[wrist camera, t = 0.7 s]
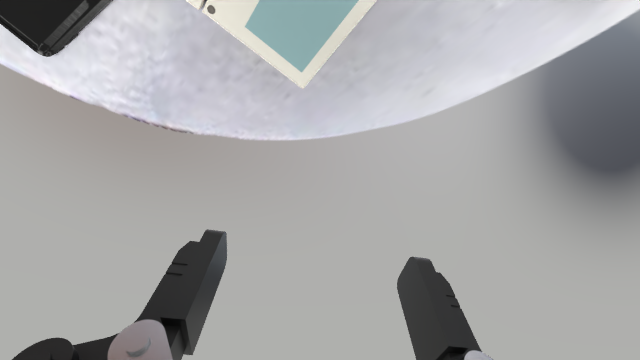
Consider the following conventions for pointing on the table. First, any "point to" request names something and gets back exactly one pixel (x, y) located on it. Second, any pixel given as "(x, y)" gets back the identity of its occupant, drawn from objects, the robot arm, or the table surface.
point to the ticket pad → (290, 30)
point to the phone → (48, 21)
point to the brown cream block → (196, 3)
